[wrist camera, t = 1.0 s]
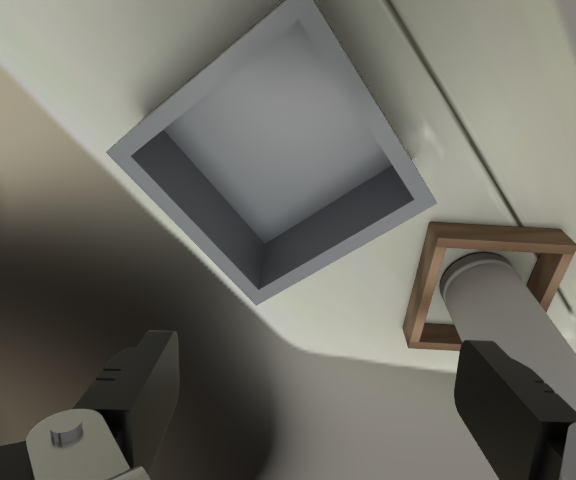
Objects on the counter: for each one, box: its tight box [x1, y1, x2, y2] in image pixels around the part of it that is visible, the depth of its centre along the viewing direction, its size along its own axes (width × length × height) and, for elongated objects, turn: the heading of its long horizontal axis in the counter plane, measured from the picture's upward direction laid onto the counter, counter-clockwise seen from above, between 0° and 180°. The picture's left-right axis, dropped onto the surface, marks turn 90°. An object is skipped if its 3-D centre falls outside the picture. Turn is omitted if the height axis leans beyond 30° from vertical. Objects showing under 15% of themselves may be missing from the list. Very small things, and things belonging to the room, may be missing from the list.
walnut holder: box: [403, 222, 576, 351], centre depth 36 cm, size 12×11×2 cm
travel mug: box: [440, 253, 576, 411], centre depth 29 cm, size 6×7×20 cm
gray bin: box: [106, 0, 437, 305], centre depth 28 cm, size 14×14×7 cm
